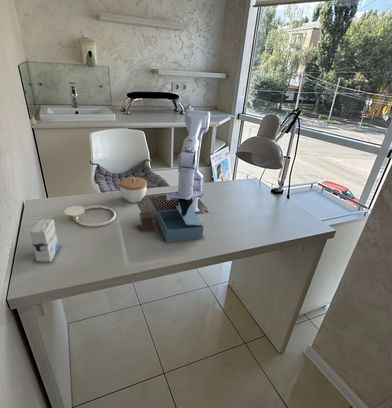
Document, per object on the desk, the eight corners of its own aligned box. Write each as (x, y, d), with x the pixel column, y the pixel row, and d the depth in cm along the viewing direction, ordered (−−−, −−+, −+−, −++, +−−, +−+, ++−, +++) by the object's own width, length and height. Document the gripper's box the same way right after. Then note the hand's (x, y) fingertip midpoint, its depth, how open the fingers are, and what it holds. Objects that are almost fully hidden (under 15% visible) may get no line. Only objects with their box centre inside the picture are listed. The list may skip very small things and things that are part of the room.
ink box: (44, 246, 105) (38, 218, 99) (59, 247, 105) (54, 218, 99) (35, 261, 97) (28, 232, 91) (51, 262, 98) (44, 232, 92)
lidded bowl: (151, 197, 146) (151, 176, 140) (139, 207, 135) (138, 185, 130) (129, 191, 149) (128, 171, 143) (115, 201, 138) (113, 180, 133)
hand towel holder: (120, 214, 120) (66, 222, 111) (120, 223, 122) (67, 232, 114) (110, 196, 133) (61, 202, 124) (111, 205, 135) (63, 211, 126)
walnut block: (139, 226, 122) (139, 212, 118) (150, 224, 123) (150, 211, 120) (141, 231, 118) (141, 218, 115) (152, 230, 120) (152, 216, 116)
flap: (175, 206, 124) (175, 205, 124) (190, 207, 127) (191, 206, 127) (186, 224, 112) (186, 224, 112) (203, 225, 115) (203, 225, 115)
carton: (157, 222, 126) (157, 211, 123) (190, 218, 130) (191, 208, 128) (166, 242, 113) (166, 230, 110) (202, 238, 118) (203, 226, 115)
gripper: (170, 188, 106) (168, 220, 113) (207, 186, 111) (203, 217, 118) (165, 181, 112) (164, 212, 119) (201, 179, 116) (198, 209, 123)
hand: (183, 214), depth 118 cm, fingers closed
